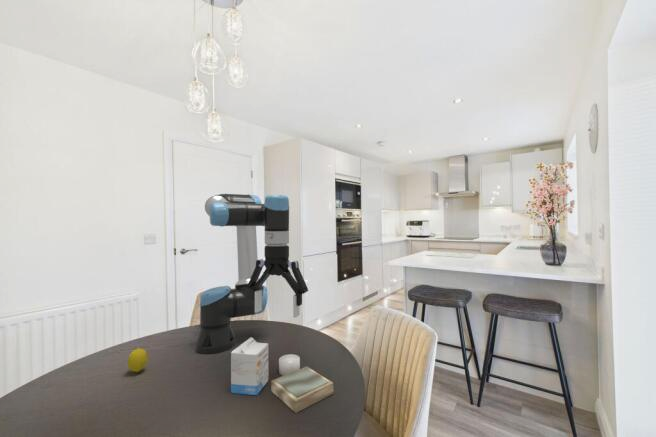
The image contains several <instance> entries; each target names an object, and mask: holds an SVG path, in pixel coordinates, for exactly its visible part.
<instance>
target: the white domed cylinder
mask: <svg viewBox="0 0 656 437" xmlns="http://www.w3.org/2000/svg"><path fill="white" fill-rule="evenodd" d="M299 369H301V357H300V356H299V355H297V354H292V353H291V354H284V355H282V356H280V357H279V359H278V374H279V375H281V376H284V375H287V374H289V373H292V372H294V371H296V370H299Z"/></svg>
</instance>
